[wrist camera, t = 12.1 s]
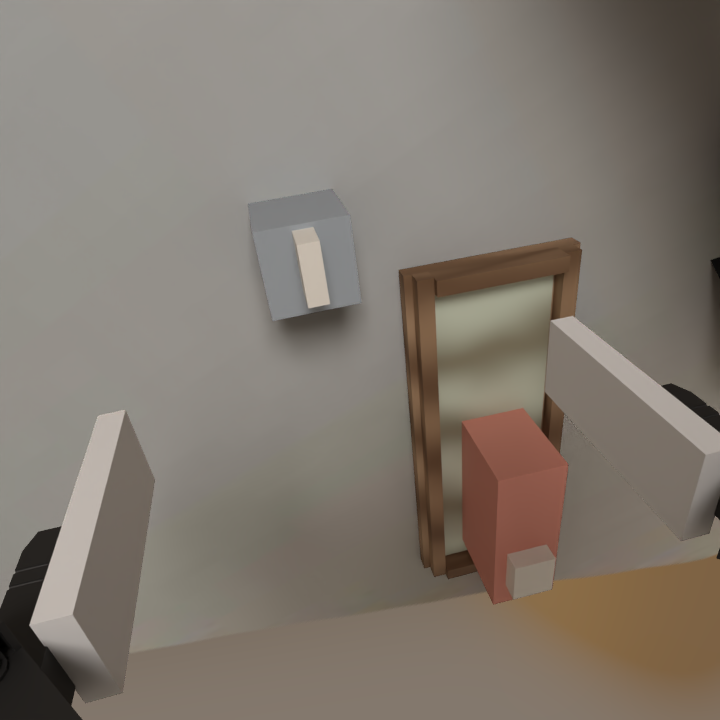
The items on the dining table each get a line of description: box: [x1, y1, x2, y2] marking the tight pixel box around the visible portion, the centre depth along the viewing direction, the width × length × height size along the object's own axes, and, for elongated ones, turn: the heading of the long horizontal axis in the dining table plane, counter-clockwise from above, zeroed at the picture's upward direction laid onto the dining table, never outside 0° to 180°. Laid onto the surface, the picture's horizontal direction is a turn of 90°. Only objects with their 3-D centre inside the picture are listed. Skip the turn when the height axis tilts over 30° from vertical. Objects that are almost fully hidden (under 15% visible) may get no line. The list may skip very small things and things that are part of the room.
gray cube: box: [248, 189, 362, 321], centre depth 27 cm, size 4×4×7 cm
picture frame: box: [399, 238, 582, 579], centre depth 39 cm, size 26×11×2 cm, turn 6°
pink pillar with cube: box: [462, 408, 568, 604], centre depth 38 cm, size 12×4×7 cm, turn 6°
